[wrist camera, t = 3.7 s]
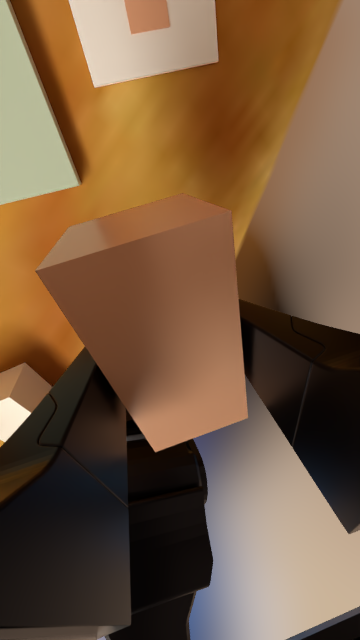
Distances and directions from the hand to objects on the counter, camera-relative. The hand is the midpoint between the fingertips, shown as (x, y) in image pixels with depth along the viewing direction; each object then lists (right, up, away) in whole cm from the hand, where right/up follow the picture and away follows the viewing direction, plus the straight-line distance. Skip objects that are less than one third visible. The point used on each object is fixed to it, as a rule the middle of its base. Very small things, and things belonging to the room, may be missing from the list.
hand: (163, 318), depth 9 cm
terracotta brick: (0, +1, +1) cm, 1 cm away
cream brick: (-14, -8, +14) cm, 21 cm away
